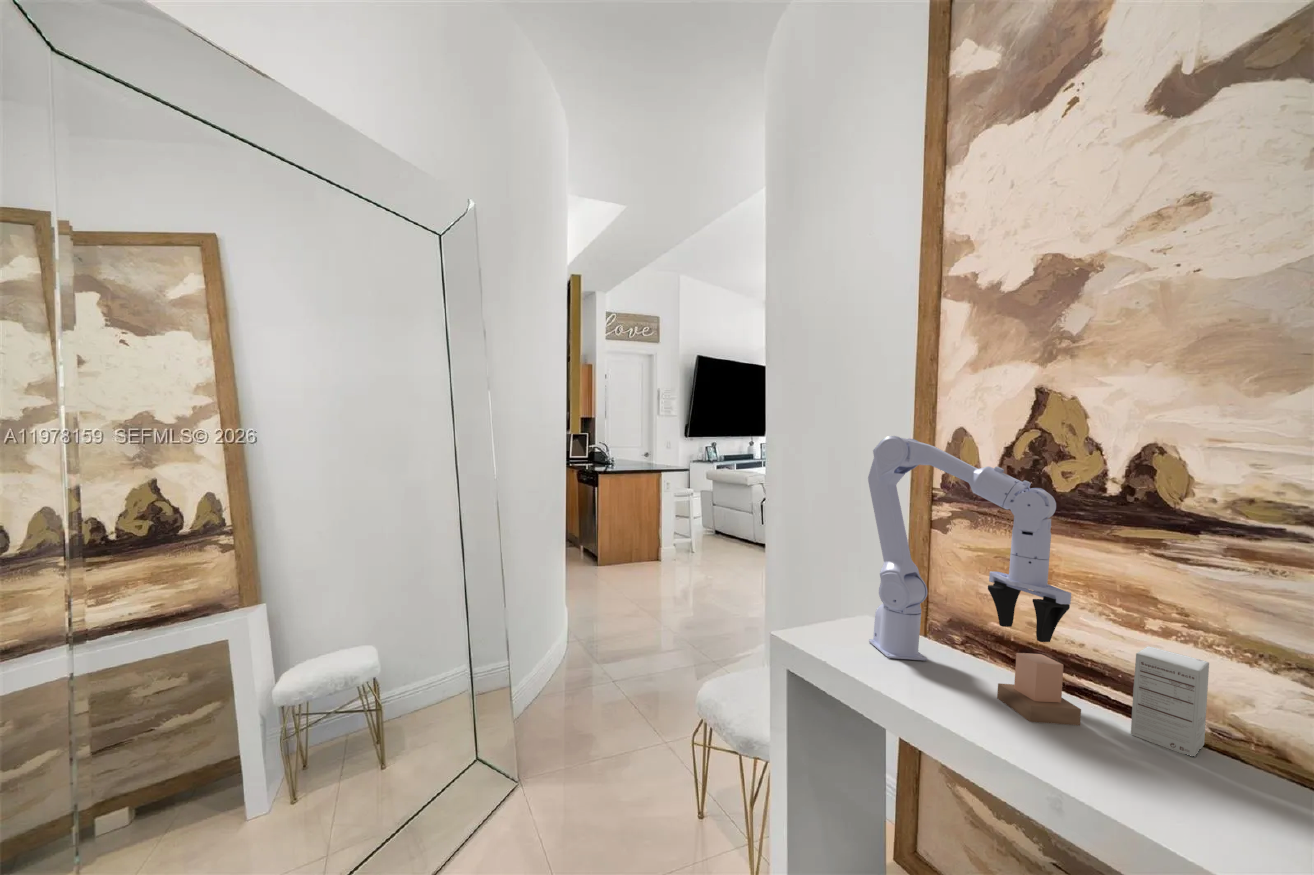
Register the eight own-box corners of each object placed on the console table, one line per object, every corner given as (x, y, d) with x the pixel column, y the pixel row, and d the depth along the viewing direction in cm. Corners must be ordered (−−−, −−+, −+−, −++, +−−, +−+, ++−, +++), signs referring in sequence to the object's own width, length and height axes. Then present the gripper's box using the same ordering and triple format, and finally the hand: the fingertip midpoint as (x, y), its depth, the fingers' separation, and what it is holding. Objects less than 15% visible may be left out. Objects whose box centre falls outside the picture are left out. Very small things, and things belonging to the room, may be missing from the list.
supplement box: (1141, 723, 89) (1147, 645, 89) (1205, 746, 83) (1211, 661, 83) (1128, 734, 85) (1134, 652, 85) (1194, 759, 79) (1201, 670, 79)
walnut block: (996, 701, 94) (998, 683, 94) (1042, 704, 94) (1043, 686, 94) (1029, 725, 86) (1031, 705, 86) (1079, 728, 86) (1081, 709, 86)
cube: (1039, 690, 93) (1041, 654, 93) (1061, 702, 88) (1063, 664, 88) (1014, 689, 92) (1016, 652, 92) (1034, 701, 88) (1037, 663, 88)
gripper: (977, 547, 104) (972, 619, 104) (1049, 565, 90) (1042, 649, 89) (1008, 548, 105) (1003, 620, 105) (1083, 566, 91) (1077, 648, 91)
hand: (1023, 633), depth 97 cm, fingers open, 7 cm apart
